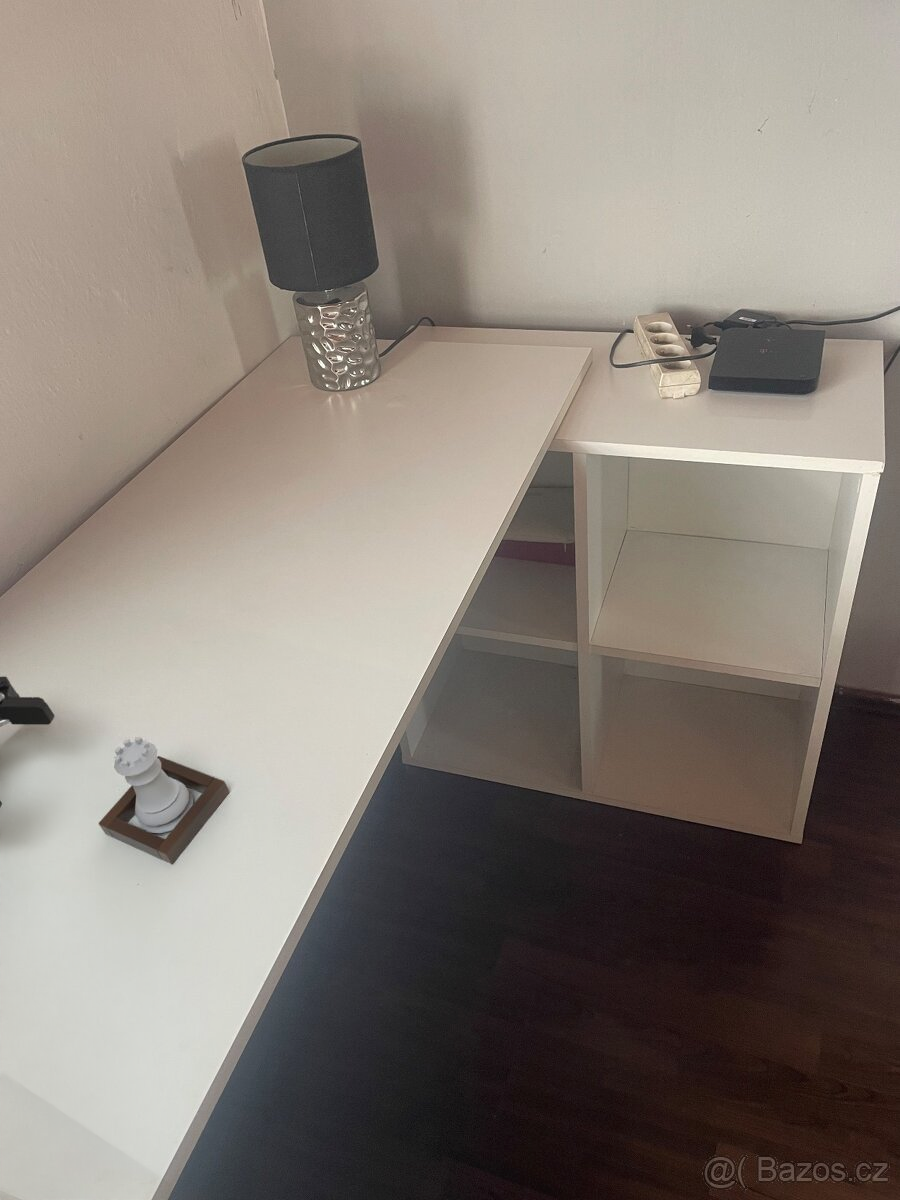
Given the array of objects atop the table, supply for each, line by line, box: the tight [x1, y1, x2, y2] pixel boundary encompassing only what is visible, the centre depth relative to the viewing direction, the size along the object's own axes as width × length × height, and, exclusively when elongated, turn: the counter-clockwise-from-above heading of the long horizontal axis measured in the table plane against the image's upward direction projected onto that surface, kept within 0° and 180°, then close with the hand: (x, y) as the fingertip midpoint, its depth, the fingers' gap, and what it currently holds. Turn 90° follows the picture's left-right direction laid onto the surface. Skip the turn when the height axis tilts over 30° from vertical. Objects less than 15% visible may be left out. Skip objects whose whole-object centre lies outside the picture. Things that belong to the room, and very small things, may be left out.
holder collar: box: [98, 755, 230, 865], centre depth 69 cm, size 7×7×2 cm
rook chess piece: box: [113, 736, 194, 834], centre depth 67 cm, size 4×4×8 cm
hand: (23, 754), depth 67 cm, fingers open, 8 cm apart
